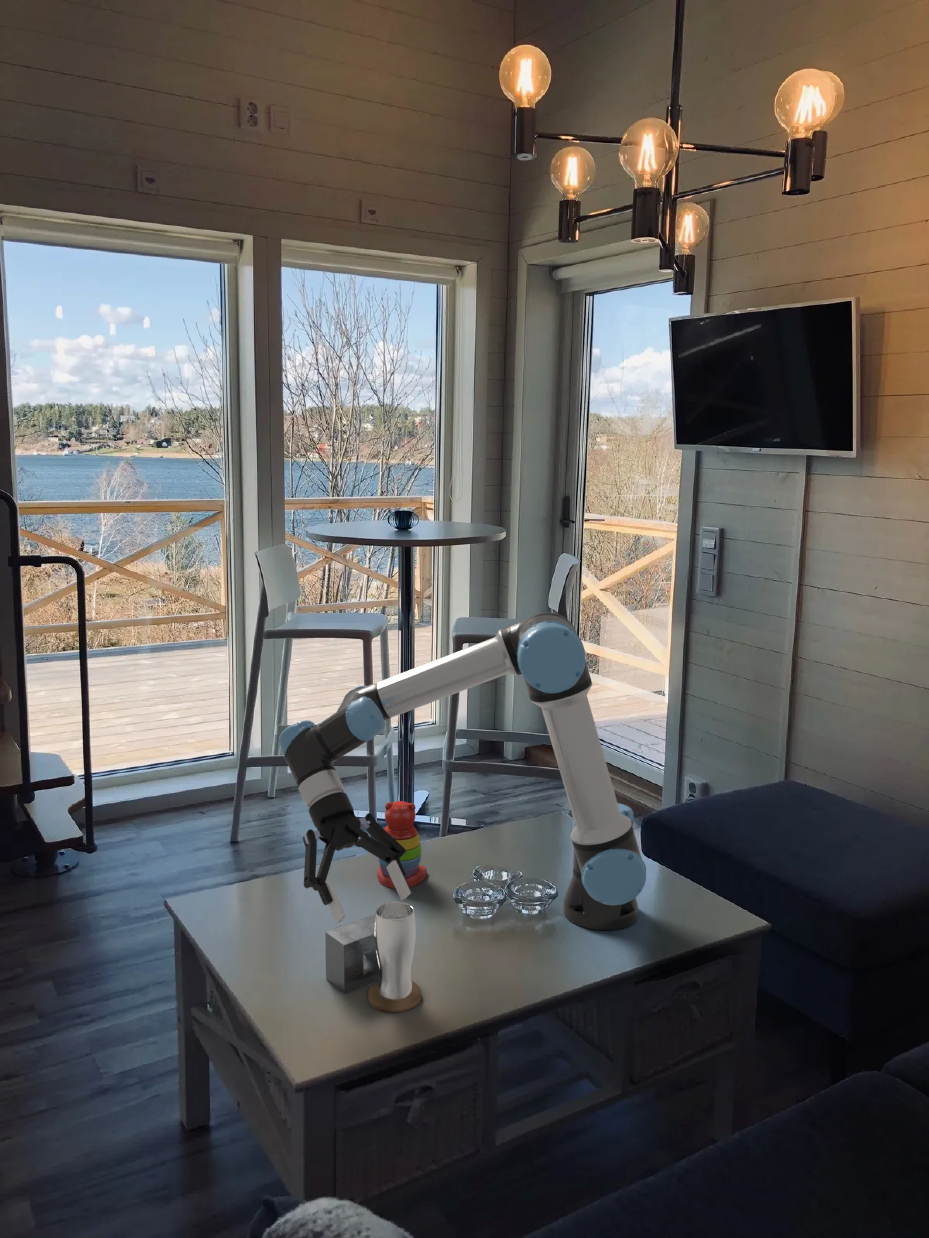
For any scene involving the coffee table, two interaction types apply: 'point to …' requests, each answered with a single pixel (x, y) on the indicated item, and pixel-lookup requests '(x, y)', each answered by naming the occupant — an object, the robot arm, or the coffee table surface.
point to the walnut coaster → (393, 1006)
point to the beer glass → (395, 949)
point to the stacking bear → (403, 843)
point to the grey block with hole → (352, 955)
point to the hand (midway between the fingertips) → (374, 908)
